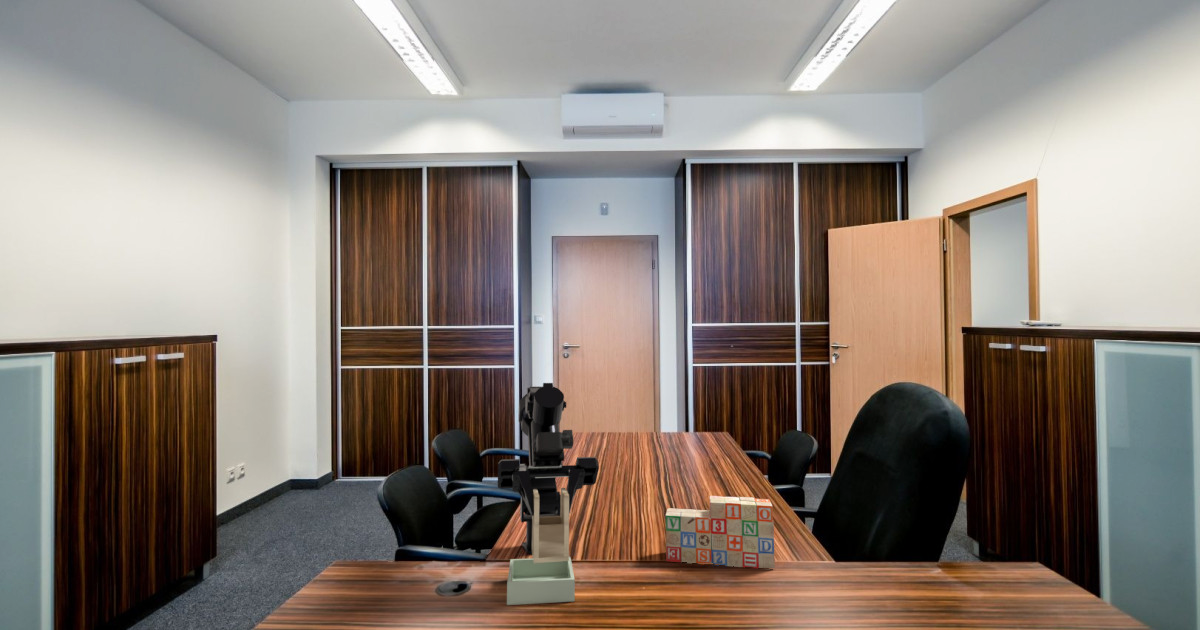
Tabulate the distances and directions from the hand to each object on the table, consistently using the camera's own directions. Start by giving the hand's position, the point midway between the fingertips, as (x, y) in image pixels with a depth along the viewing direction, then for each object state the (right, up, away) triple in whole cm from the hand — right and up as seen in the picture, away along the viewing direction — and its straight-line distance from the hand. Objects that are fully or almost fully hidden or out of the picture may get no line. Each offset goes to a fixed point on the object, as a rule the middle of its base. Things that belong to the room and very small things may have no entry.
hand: (550, 513), depth 91 cm
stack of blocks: (+33, -16, +14) cm, 39 cm away
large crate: (-2, -13, 0) cm, 13 cm away
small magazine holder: (0, -8, 0) cm, 8 cm away
